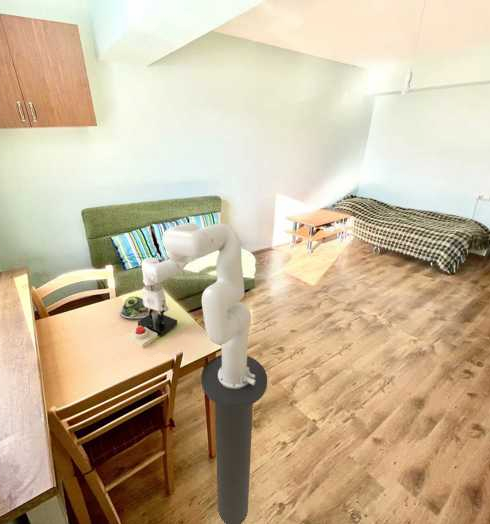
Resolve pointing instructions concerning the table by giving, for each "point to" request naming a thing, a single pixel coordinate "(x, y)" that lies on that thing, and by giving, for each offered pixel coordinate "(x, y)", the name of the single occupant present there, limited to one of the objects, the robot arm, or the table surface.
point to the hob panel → (158, 325)
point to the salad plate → (134, 309)
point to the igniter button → (140, 330)
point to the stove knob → (155, 316)
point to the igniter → (142, 337)
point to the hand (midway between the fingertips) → (157, 318)
